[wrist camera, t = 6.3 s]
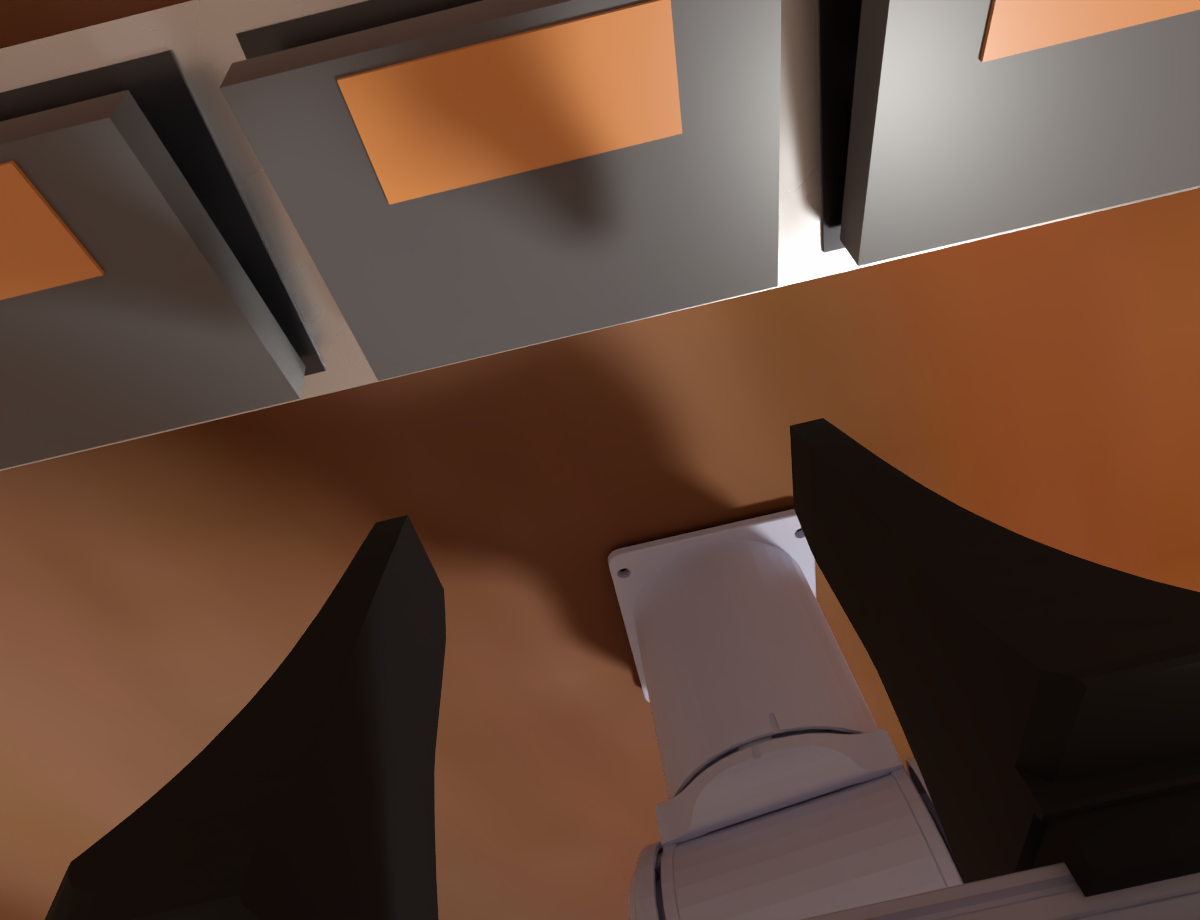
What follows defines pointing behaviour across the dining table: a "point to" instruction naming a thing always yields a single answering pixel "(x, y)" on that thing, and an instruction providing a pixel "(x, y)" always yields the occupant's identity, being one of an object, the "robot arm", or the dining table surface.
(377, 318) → the rocker
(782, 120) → the grey switch panel
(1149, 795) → the robot arm
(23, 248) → the panel
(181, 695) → the dining table surface
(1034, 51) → the grey rectangular frame
